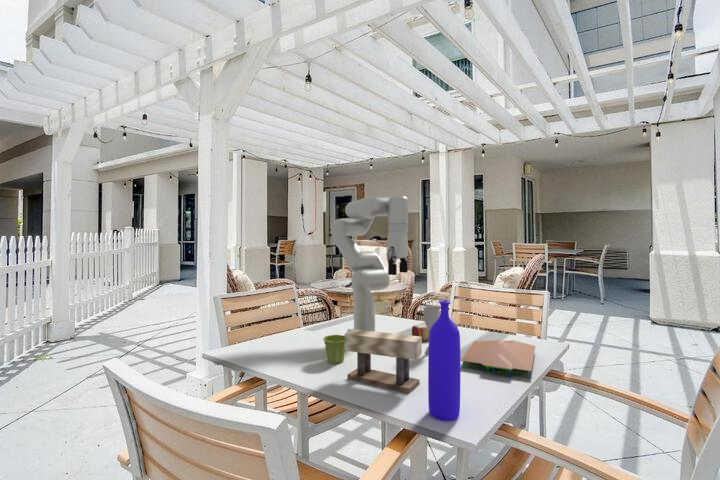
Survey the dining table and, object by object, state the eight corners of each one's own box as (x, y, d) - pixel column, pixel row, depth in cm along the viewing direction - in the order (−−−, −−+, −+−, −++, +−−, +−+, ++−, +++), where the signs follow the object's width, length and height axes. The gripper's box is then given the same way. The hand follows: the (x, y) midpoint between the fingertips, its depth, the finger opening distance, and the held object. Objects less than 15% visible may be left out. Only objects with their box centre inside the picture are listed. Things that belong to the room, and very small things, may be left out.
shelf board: (344, 350, 123) (344, 333, 123) (352, 345, 129) (352, 329, 129) (416, 360, 114) (416, 342, 114) (421, 353, 120) (421, 336, 120)
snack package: (450, 334, 179) (451, 320, 178) (459, 338, 172) (459, 323, 172) (410, 338, 171) (410, 324, 171) (418, 342, 165) (418, 327, 165)
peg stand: (347, 378, 124) (347, 350, 124) (360, 371, 131) (360, 343, 131) (409, 393, 113) (409, 361, 112) (419, 384, 120) (419, 354, 119)
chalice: (440, 356, 147) (440, 309, 146) (422, 354, 148) (422, 309, 148) (439, 350, 154) (440, 306, 154) (423, 349, 155) (423, 305, 155)
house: (458, 371, 131) (458, 348, 131) (475, 346, 161) (476, 327, 160) (531, 383, 121) (531, 358, 121) (535, 354, 150) (535, 333, 150)
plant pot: (351, 358, 144) (351, 336, 144) (342, 367, 135) (342, 342, 135) (329, 356, 147) (329, 333, 147) (318, 364, 138) (318, 340, 138)
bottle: (424, 407, 104) (425, 298, 103) (454, 406, 104) (454, 298, 104) (433, 422, 95) (433, 304, 95) (464, 421, 96) (465, 303, 96)
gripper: (398, 229, 154) (398, 271, 154) (378, 228, 139) (378, 275, 139) (416, 228, 150) (416, 272, 150) (397, 228, 135) (397, 276, 135)
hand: (398, 273), depth 145 cm, fingers open, 9 cm apart
